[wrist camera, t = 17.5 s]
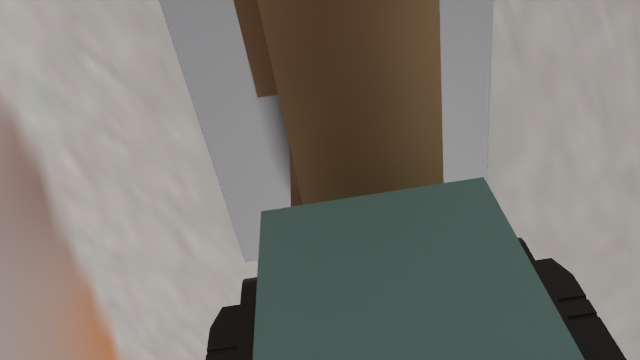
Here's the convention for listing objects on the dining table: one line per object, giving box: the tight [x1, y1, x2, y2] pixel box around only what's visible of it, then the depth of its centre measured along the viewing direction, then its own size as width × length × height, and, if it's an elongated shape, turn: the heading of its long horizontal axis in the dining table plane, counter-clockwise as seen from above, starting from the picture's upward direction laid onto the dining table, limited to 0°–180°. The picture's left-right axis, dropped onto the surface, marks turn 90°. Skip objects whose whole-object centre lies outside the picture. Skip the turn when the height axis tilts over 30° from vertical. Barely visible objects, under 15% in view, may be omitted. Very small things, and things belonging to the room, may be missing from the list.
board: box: [159, 0, 493, 262], centre depth 21 cm, size 12×18×1 cm, turn 9°
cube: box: [253, 177, 585, 360], centre depth 10 cm, size 4×4×4 cm
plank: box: [257, 0, 444, 205], centre depth 15 cm, size 4×14×3 cm, turn 9°
